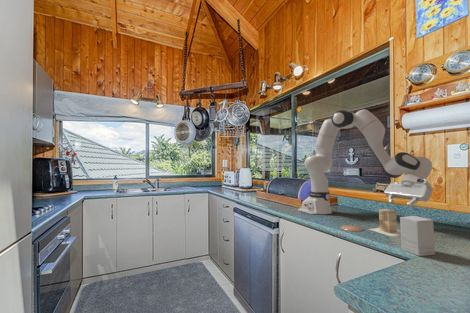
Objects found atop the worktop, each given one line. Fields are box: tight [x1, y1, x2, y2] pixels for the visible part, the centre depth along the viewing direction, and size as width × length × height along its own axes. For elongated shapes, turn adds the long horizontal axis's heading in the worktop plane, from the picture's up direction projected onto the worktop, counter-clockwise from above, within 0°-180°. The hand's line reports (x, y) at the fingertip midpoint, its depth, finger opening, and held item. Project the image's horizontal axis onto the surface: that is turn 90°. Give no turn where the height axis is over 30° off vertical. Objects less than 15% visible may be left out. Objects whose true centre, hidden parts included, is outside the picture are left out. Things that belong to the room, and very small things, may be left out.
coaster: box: [340, 224, 364, 233], centre depth 117 cm, size 10×10×1 cm
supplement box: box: [399, 215, 436, 257], centre depth 87 cm, size 7×7×13 cm
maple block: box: [378, 208, 398, 233], centre depth 112 cm, size 5×5×10 cm
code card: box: [368, 227, 401, 237], centre depth 111 cm, size 12×12×1 cm
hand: (399, 204), depth 115 cm, fingers open, 8 cm apart
